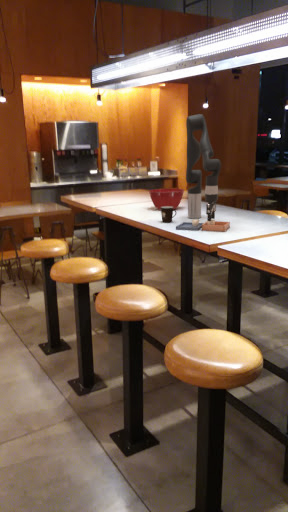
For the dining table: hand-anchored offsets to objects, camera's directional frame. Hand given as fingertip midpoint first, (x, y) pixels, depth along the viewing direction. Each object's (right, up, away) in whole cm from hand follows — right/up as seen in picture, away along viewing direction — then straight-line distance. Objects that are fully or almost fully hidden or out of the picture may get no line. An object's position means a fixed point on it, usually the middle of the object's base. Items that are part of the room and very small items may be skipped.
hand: (211, 219), depth 257 cm
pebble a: (0, -5, +1) cm, 5 cm away
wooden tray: (+3, -6, 0) cm, 6 cm away
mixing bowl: (-23, +16, +83) cm, 88 cm away
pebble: (-9, -4, +5) cm, 11 cm away
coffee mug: (-25, 0, +27) cm, 36 cm away
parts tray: (-12, -4, +6) cm, 14 cm away
